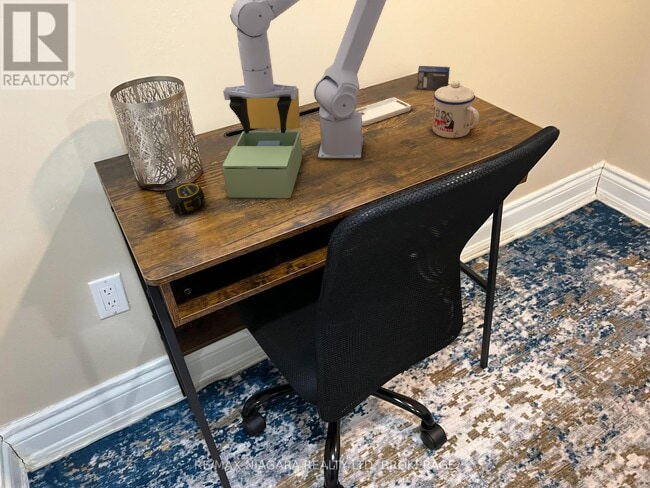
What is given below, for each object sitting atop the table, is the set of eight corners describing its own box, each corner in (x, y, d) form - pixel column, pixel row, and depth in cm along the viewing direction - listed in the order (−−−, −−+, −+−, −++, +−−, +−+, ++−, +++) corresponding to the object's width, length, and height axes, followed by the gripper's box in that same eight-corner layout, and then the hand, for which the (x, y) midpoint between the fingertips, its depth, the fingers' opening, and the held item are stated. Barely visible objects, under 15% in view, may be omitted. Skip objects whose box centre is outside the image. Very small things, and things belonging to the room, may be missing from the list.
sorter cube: (279, 171, 111) (276, 151, 108) (257, 171, 111) (254, 151, 108) (283, 160, 114) (280, 140, 111) (262, 160, 115) (259, 140, 112)
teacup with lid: (423, 129, 123) (426, 81, 116) (450, 118, 127) (454, 71, 120) (461, 147, 115) (466, 97, 108) (488, 135, 119) (496, 85, 112)
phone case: (364, 126, 126) (411, 110, 132) (363, 121, 126) (412, 105, 131) (347, 116, 132) (393, 101, 137) (347, 111, 131) (393, 96, 137)
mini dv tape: (417, 89, 143) (418, 67, 139) (417, 87, 144) (419, 65, 141) (447, 90, 141) (449, 68, 138) (447, 88, 142) (449, 66, 139)
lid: (242, 128, 113) (242, 128, 113) (299, 128, 111) (299, 128, 112) (239, 89, 110) (240, 89, 111) (298, 88, 109) (298, 88, 109)
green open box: (246, 157, 117) (241, 127, 113) (302, 157, 116) (299, 127, 111) (228, 197, 104) (221, 166, 100) (290, 198, 103) (286, 166, 98)
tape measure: (167, 203, 104) (162, 187, 101) (200, 193, 106) (196, 177, 104) (176, 220, 99) (171, 203, 97) (210, 209, 101) (206, 193, 99)
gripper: (296, 58, 102) (302, 122, 110) (225, 60, 103) (236, 123, 112) (291, 71, 96) (297, 137, 104) (215, 72, 98) (228, 138, 106)
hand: (265, 131), depth 108 cm, fingers open, 7 cm apart
